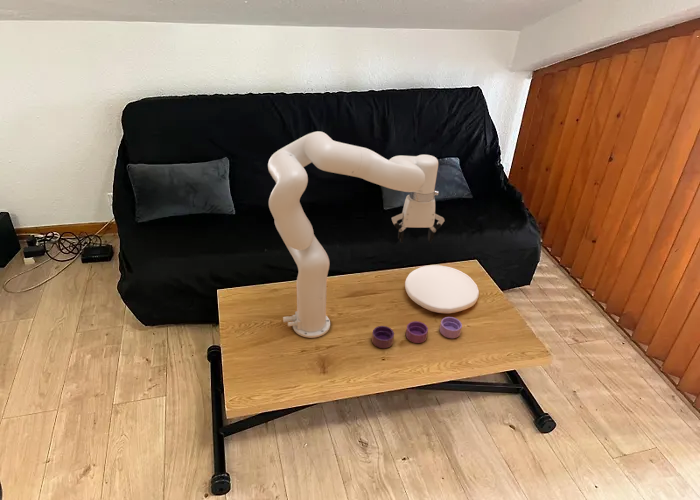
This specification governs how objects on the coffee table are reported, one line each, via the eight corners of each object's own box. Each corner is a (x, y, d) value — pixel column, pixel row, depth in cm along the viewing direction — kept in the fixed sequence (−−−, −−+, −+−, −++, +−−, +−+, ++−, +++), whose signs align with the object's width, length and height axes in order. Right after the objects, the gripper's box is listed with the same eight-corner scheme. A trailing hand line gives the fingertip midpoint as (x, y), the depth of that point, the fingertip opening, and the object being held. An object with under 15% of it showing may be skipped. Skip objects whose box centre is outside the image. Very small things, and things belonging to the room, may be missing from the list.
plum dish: (409, 345, 160) (411, 336, 158) (402, 331, 165) (404, 322, 163) (429, 342, 161) (431, 333, 159) (422, 328, 167) (423, 320, 165)
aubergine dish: (375, 350, 157) (376, 341, 155) (369, 336, 163) (370, 327, 161) (395, 347, 159) (396, 339, 157) (389, 333, 164) (390, 324, 162)
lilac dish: (444, 340, 162) (446, 331, 160) (436, 326, 168) (437, 318, 166) (463, 337, 164) (465, 329, 162) (454, 324, 170) (456, 315, 168)
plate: (429, 254, 197) (492, 281, 184) (426, 268, 200) (487, 295, 187) (392, 280, 176) (459, 311, 163) (389, 295, 179) (455, 327, 166)
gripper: (445, 189, 159) (438, 234, 168) (392, 188, 158) (388, 234, 167) (451, 200, 153) (443, 246, 162) (396, 199, 151) (391, 246, 161)
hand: (415, 240), depth 164 cm, fingers open, 9 cm apart
